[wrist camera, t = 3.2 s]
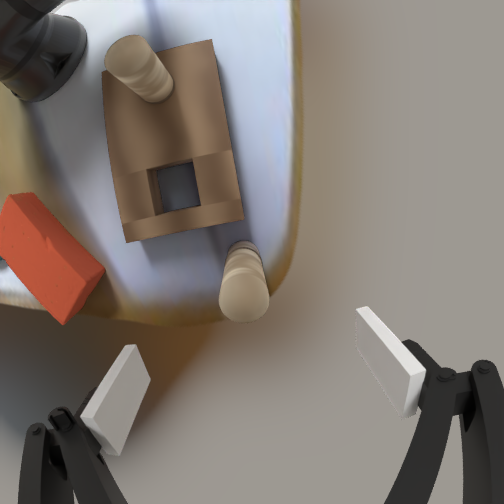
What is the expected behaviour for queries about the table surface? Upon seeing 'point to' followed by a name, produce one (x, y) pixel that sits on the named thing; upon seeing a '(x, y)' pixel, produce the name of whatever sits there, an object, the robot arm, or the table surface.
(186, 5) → the table surface
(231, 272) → the beech leg
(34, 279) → the brick
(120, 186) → the walnut board
